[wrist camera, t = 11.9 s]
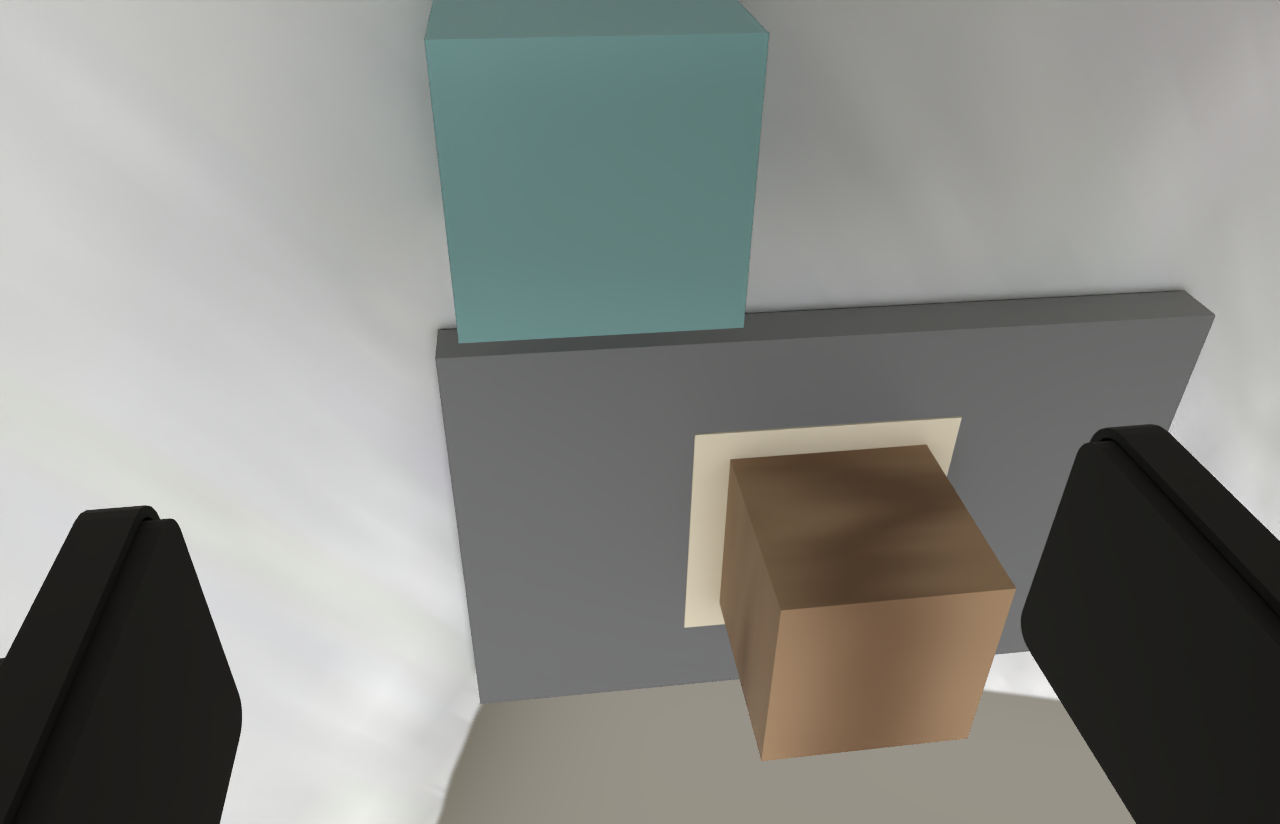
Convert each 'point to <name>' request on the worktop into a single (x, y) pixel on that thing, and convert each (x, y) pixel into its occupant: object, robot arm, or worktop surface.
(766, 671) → the walnut block
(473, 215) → the teal block
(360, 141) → the worktop surface
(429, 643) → the worktop surface
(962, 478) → the build plate
